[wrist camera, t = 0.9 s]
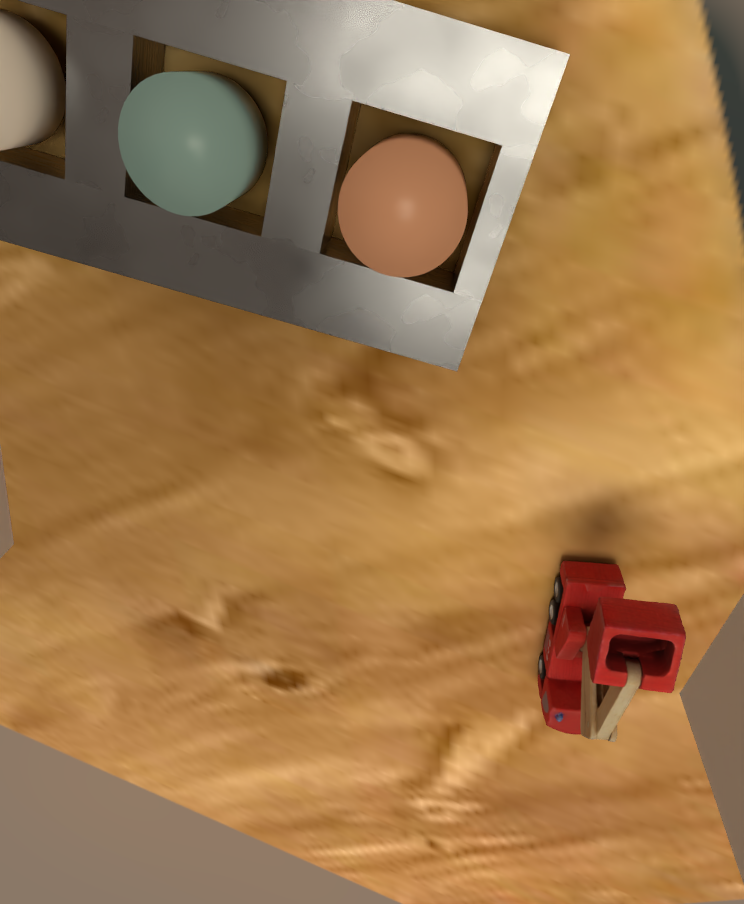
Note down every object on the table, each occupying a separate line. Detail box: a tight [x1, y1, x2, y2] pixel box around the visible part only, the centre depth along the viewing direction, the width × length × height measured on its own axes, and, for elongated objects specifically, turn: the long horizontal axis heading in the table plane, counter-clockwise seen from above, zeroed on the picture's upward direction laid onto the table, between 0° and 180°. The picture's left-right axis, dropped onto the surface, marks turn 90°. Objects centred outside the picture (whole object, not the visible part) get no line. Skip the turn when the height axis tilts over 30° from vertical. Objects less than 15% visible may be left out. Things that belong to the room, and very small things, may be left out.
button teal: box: [118, 71, 268, 216], centre depth 24 cm, size 5×5×3 cm
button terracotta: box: [338, 133, 468, 277], centre depth 25 cm, size 5×5×3 cm
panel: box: [0, 0, 570, 371], centre depth 26 cm, size 24×12×3 cm, turn 75°
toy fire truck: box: [538, 561, 686, 742], centre depth 34 cm, size 3×14×10 cm, turn 179°
